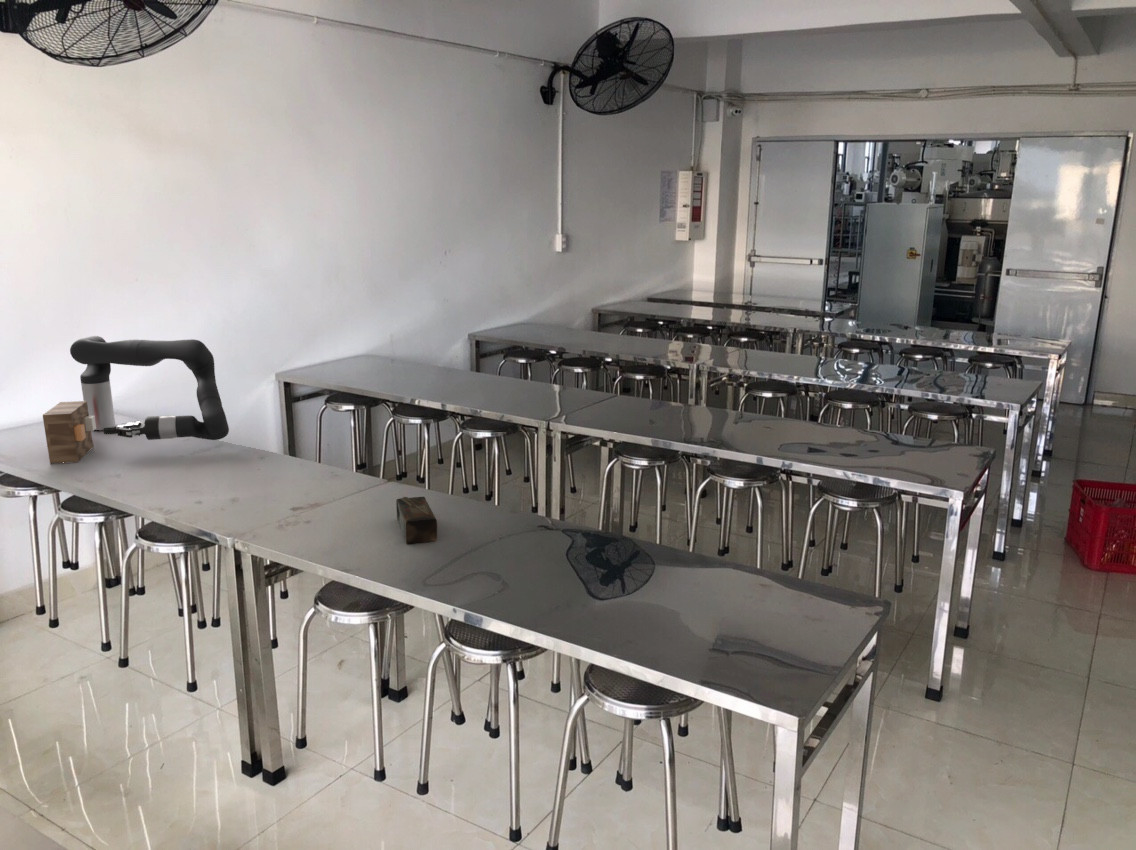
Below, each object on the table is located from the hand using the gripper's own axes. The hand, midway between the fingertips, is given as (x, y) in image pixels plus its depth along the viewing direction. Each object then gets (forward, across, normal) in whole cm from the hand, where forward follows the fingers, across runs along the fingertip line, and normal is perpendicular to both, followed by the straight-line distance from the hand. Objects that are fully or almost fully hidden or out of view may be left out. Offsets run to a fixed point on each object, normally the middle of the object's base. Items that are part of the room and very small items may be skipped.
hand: (104, 430), depth 287 cm
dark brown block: (-93, -86, -10) cm, 127 cm away
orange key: (+9, 0, -2) cm, 9 cm away
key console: (+12, +6, -9) cm, 16 cm away
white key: (+9, +12, -2) cm, 15 cm away
